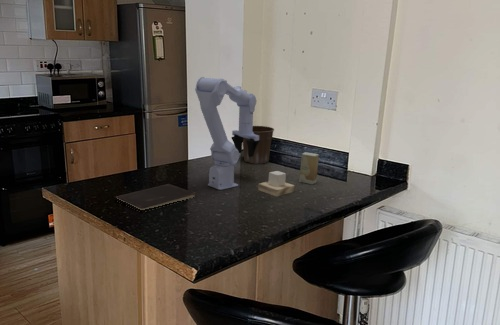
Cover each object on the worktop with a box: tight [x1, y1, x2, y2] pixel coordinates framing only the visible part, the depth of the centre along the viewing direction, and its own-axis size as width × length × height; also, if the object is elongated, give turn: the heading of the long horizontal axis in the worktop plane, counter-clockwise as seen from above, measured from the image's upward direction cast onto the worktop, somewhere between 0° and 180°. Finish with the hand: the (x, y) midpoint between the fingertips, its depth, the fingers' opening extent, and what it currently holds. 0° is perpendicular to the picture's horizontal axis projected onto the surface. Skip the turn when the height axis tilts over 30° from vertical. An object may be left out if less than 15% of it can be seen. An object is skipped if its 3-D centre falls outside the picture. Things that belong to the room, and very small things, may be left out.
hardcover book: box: [114, 183, 197, 210], centre depth 159 cm, size 16×23×2 cm
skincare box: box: [298, 152, 320, 185], centre depth 184 cm, size 6×4×12 cm
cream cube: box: [267, 170, 287, 187], centre depth 172 cm, size 5×5×5 cm
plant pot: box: [242, 125, 275, 165], centre depth 216 cm, size 16×16×16 cm
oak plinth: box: [257, 181, 296, 197], centre depth 173 cm, size 10×10×3 cm
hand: (244, 154), depth 187 cm, fingers open, 7 cm apart
